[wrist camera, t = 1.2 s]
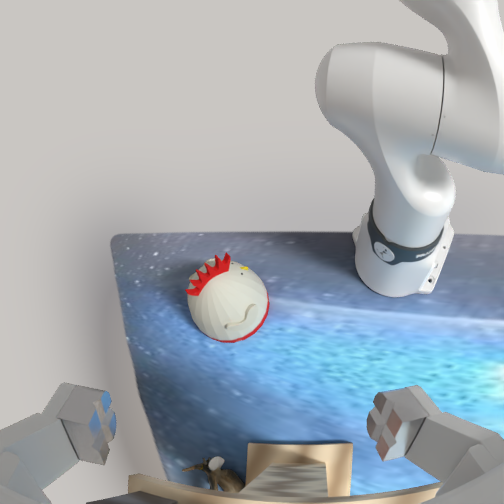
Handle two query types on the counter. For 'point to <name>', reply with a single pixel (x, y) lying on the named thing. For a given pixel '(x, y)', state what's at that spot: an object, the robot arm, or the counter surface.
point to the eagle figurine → (219, 475)
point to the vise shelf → (277, 481)
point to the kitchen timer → (227, 300)
